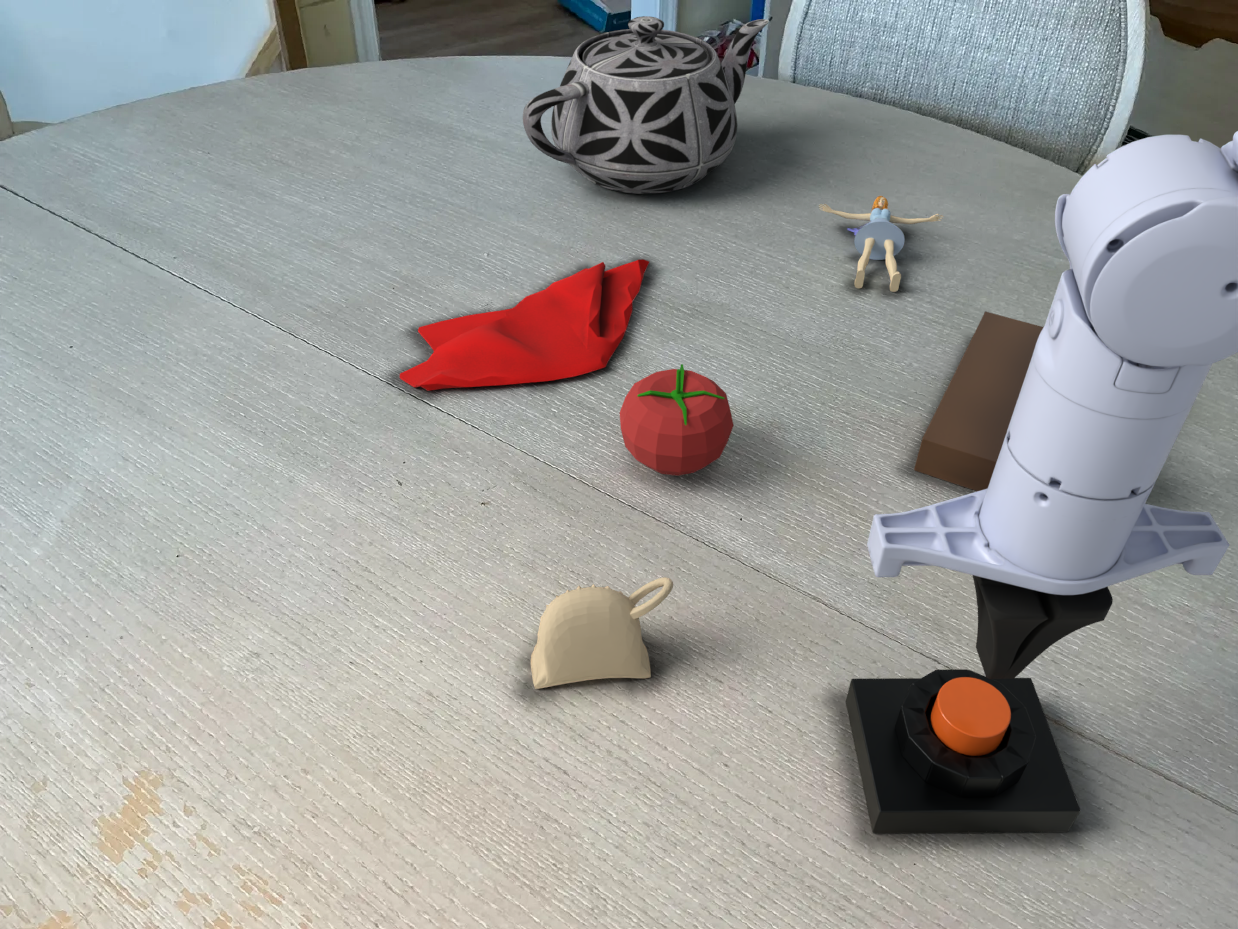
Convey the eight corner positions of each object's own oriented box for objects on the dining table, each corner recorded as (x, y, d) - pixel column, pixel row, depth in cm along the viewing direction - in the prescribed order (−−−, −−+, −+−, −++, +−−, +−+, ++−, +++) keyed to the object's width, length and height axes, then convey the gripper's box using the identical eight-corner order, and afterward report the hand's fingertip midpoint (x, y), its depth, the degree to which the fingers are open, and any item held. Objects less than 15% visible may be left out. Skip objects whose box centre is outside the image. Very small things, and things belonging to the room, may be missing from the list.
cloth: (446, 434, 75) (442, 410, 73) (370, 343, 83) (366, 320, 81) (723, 323, 85) (725, 300, 84) (632, 253, 94) (632, 231, 92)
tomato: (734, 429, 75) (743, 345, 70) (724, 502, 69) (733, 415, 64) (628, 417, 76) (629, 333, 71) (609, 488, 70) (609, 402, 65)
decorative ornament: (529, 633, 61) (524, 574, 57) (667, 623, 61) (670, 564, 58) (531, 689, 58) (526, 630, 54) (676, 678, 58) (680, 619, 55)
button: (991, 696, 53) (999, 676, 52) (1011, 756, 51) (1020, 737, 50) (923, 696, 53) (930, 676, 52) (939, 756, 51) (947, 737, 49)
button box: (1020, 700, 57) (1040, 657, 55) (1068, 833, 51) (1093, 791, 49) (845, 701, 57) (856, 658, 55) (872, 834, 51) (886, 793, 49)
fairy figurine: (815, 251, 87) (822, 174, 95) (808, 295, 91) (815, 217, 99) (952, 264, 86) (947, 185, 94) (939, 308, 89) (936, 228, 97)
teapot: (817, 157, 109) (837, 12, 99) (586, 244, 95) (582, 85, 85) (701, 100, 120) (710, -36, 110) (480, 170, 106) (466, 22, 96)
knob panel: (1154, 391, 79) (1169, 358, 77) (1113, 555, 66) (1130, 521, 64) (976, 341, 84) (985, 309, 81) (906, 485, 71) (915, 451, 68)
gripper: (1218, 387, 43) (1113, 597, 52) (877, 389, 43) (831, 599, 52) (1304, 503, 38) (1170, 714, 47) (915, 506, 37) (857, 717, 47)
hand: (995, 662), depth 49 cm, fingers closed
